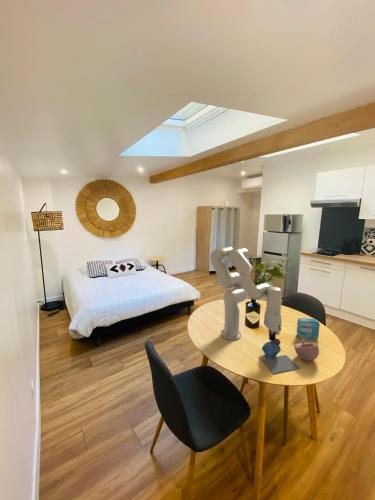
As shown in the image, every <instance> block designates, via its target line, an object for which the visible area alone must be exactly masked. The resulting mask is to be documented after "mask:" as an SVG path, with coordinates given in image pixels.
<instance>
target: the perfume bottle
mask: <svg viewBox="0 0 375 500" xmlns="http://www.w3.org/2000/svg"><path fill="white" fill-rule="evenodd" d="M281 343H282V342H281V339H279V338H276V339H275V340H274V341H270V340H269V341H267V342H265V343H264V344H263V346H262V347H261V350H262V352H263V353H264V355H265V357H266V359H267V358H272V357H277V355H278V354H279V353H280V352H281V351H282V349H281V345H280V344H281Z"/></svg>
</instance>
